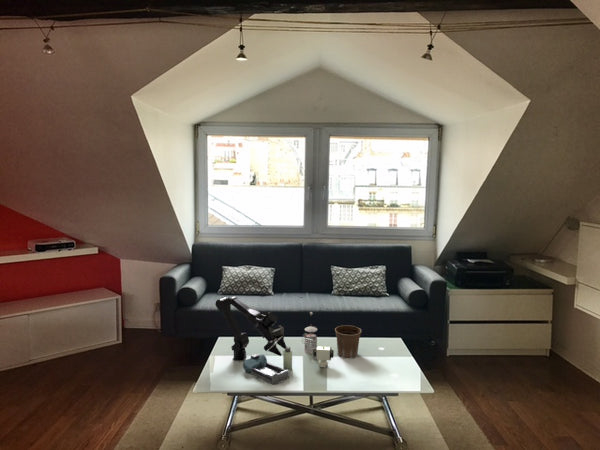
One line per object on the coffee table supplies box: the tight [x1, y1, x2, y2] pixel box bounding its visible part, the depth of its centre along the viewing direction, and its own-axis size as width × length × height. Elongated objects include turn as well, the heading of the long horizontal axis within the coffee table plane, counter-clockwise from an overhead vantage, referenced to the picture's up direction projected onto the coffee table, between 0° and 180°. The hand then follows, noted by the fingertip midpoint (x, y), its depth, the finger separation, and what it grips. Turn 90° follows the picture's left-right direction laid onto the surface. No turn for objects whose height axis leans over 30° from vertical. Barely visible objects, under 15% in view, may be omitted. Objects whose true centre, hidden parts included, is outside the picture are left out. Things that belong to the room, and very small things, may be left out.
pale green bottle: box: [282, 346, 293, 372], centre depth 252 cm, size 5×5×12 cm
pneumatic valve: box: [312, 345, 335, 368], centre depth 256 cm, size 6×12×12 cm, turn 83°
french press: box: [301, 311, 318, 355], centre depth 277 cm, size 10×12×25 cm
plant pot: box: [334, 325, 362, 360], centre depth 272 cm, size 16×16×16 cm
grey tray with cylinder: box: [242, 353, 290, 386], centre depth 245 cm, size 25×12×8 cm, turn 46°
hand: (284, 352), depth 252 cm, fingers open, 9 cm apart
